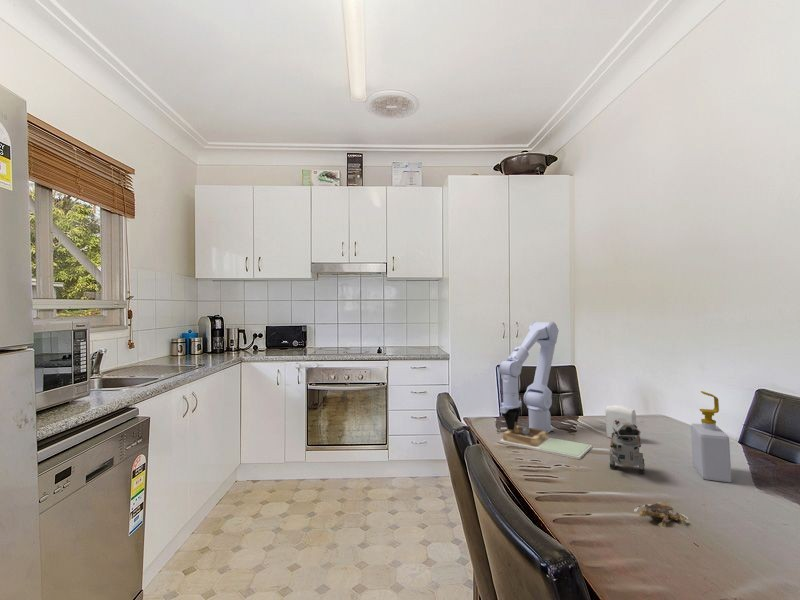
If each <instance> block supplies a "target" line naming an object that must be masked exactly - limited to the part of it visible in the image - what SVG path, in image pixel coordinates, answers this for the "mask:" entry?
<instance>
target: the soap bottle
mask: <svg viewBox="0 0 800 600" xmlns="http://www.w3.org/2000/svg"><path fill="white" fill-rule="evenodd" d="M700 393H701V394H703V395H704V396H705V395H706V396H709V397H713V402H714V403H713V404H714V407H713V409H710V408H709V409H707V408H699V411H700V412H701V413H702V414H701V415H702V416H703V415H704V418H701V419H700V422H701V423H691V425H690V430H691V432H690V433H691V454H692V464H693V466H694V467H695V469H696V471H697V472H698V473H699V475H700V477H701V478H702V479H703V480H707V481H708V480H709V481H716V482H723V483H732V468H731V467H732V466H731V465H732V464H731V463H732V462H731V447H730V446H731V445H730V444H731V443H730V437H729V436H728V434H727V433H726V432H725V431H723V430H722V429H721V428H720V427H719V426H718V425H716V423H717V421H716V420H715V419H713V416H715V414H718V413H719V411H720V404H719V398H718V397H717V396H716V395H714V394H712V393H708V392H705V391H702V390H701V391H700Z"/></svg>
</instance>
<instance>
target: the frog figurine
mask: <svg viewBox="0 0 800 600" xmlns="http://www.w3.org/2000/svg"><path fill="white" fill-rule="evenodd" d="M640 507H641V505H638V506H636V507H634V509H633V512H637V511H638V509H640ZM642 507H644V508H642V509H641V510H640V511H639V512H638V513H637V514H638V516H639V517H641V518H642V517H643V518H644V517H645V518H650V519H654V520H657V521H660V522H659V523H657V526H659V527H660V528H667V527H668V525H667V523H668V522H671V521H672V520H676V521H677V523H678V524H680V525H682V526H685V525H686V524H688V523H690V521H688V520H689V518H688V516H687V515H686V514H684V513H681V512H674V511H673V510H674V508H673V507H672V506H671V505H670V504H668V503H667V502H666V501H662V502H656V503H652V504H648V503H646V504H645V505H642Z"/></svg>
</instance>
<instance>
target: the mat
mask: <svg viewBox="0 0 800 600" xmlns="http://www.w3.org/2000/svg"><path fill="white" fill-rule="evenodd" d="M551 438H552V439H550V440H549V441H547V442H546V443H544V444H543V445H542V446H540V447H539V448H541V449H545V450H550V451H555V452H560V453H565V454H570V455H575V456H579V455H580V454H581V453H582V452H583V451H584V450H585V449H587V448H588V447H589V446H590V445H591V444H586V443H581V442H576V441H571V440H566V439H559V438H553V437H551Z"/></svg>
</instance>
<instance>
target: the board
mask: <svg viewBox="0 0 800 600" xmlns="http://www.w3.org/2000/svg"><path fill="white" fill-rule="evenodd" d="M518 435H521V434H518ZM530 437H534V436H530ZM552 438H553V437H549V436H548V438H547V439H545V440H544V441H542V442H541V443H539V444H538V445H536V446H530V445H525V444H521V443H516V442H511V441H506V440H503V438H502V439H500V440H499V441H498V442H499V444H503V445H509V446H513V447H517V448H523V449H528V450H532V451H537V452H542V453H547V454H551V455H556V456H561V457H567V458H571V459H575V460H581V459H582V458H583V457H584V456H585V455H586V454H587V453H588V452H589V451H590V450H591V449H592V448H593V445H591V444H589V445H590V446H589V447H588V448H587V449H585V450H584V451H583V452H582V453H581V454H580V455H579V456H575V455H570V454H565V453H560V452H555V451H550V450H545V449H541V448H539V447H540V446H542V445H543V444H544V443H546V442H547V441H549V440H550V439H552Z"/></svg>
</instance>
